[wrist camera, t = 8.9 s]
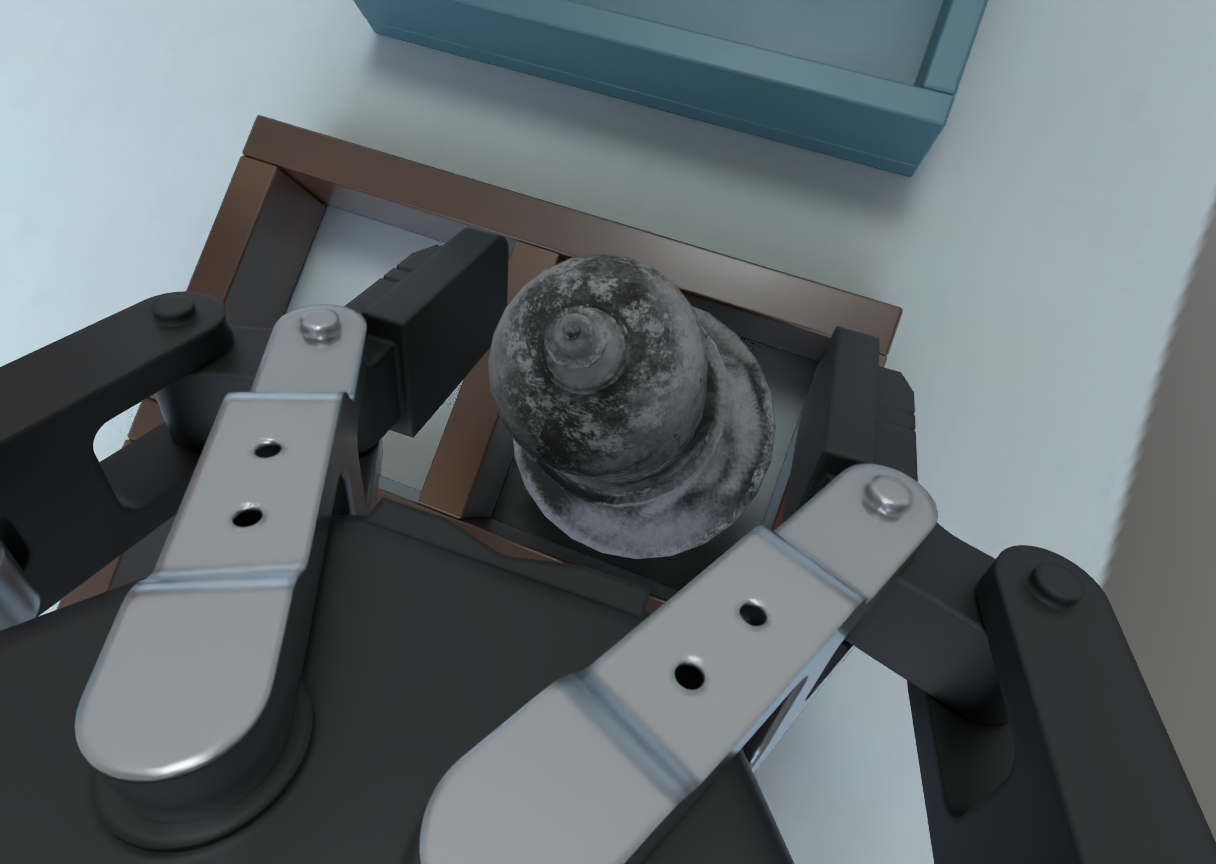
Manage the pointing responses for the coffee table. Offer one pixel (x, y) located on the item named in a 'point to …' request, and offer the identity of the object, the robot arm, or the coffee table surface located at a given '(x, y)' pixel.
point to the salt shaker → (629, 408)
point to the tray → (731, 60)
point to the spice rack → (537, 239)
